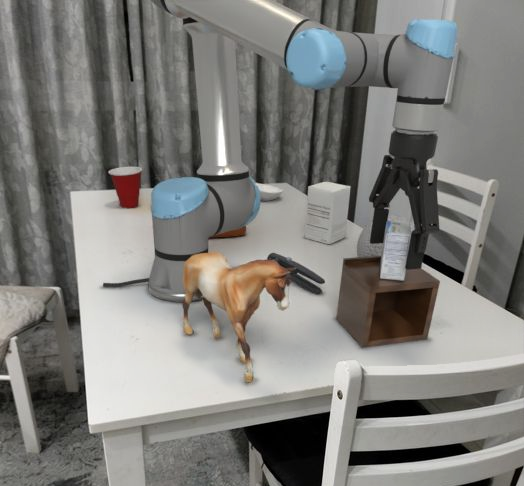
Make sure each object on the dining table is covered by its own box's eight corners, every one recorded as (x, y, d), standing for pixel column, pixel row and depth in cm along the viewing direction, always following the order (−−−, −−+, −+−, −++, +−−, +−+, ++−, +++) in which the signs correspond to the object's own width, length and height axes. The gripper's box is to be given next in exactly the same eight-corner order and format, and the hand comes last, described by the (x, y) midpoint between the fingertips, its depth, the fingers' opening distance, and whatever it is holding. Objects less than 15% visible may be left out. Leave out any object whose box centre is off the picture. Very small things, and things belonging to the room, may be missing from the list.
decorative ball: (374, 292, 120) (384, 228, 113) (342, 269, 132) (349, 210, 125) (428, 284, 125) (440, 222, 118) (392, 263, 137) (401, 205, 130)
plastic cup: (111, 202, 179) (107, 166, 173) (143, 201, 182) (140, 165, 176) (113, 211, 170) (108, 172, 164) (146, 209, 173) (144, 171, 167)
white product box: (320, 231, 159) (325, 180, 152) (345, 237, 154) (352, 185, 147) (303, 237, 153) (307, 185, 145) (329, 245, 148) (334, 191, 141)
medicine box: (404, 281, 94) (412, 235, 90) (379, 279, 95) (386, 232, 91) (402, 266, 101) (410, 222, 97) (379, 264, 102) (386, 220, 97)
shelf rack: (361, 347, 98) (371, 282, 91) (336, 319, 108) (343, 258, 101) (427, 339, 102) (441, 275, 95) (396, 312, 111) (407, 253, 105)
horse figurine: (290, 384, 86) (299, 266, 76) (251, 398, 82) (255, 276, 72) (199, 312, 108) (197, 213, 98) (165, 321, 104) (158, 219, 94)
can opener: (259, 274, 127) (260, 252, 125) (280, 268, 131) (281, 246, 129) (310, 299, 116) (312, 275, 113) (332, 291, 120) (334, 268, 117)
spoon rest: (280, 195, 196) (281, 175, 192) (283, 203, 186) (285, 182, 182) (216, 194, 194) (216, 174, 190) (216, 202, 184) (216, 181, 180)
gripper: (482, 143, 76) (450, 279, 87) (397, 121, 97) (380, 232, 108) (437, 144, 74) (410, 282, 85) (360, 120, 95) (346, 234, 106)
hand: (393, 255), depth 96 cm, fingers open, 13 cm apart
